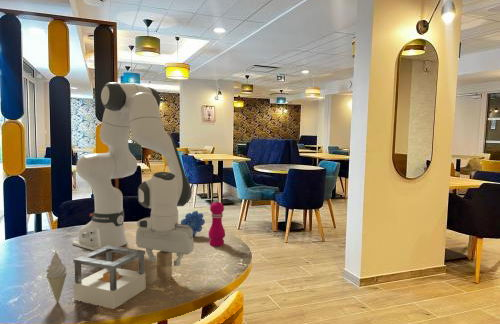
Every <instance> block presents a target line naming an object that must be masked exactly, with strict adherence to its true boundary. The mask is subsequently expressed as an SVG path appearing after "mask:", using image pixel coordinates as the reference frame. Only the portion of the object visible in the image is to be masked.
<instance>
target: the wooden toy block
mask: <svg viewBox="0 0 500 324" xmlns="http://www.w3.org/2000/svg"><path fill="white" fill-rule="evenodd" d="M172 278H173V253H172V252H166V251H159V250H158V252H156V280H158V281H163V282H167V281H169V280H171V279H172Z"/></svg>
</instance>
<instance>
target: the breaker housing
mask: <svg viewBox="0 0 500 324" xmlns="http://www.w3.org/2000/svg"><path fill="white" fill-rule="evenodd" d="M116 271H117V272H119V279H118V280H117V289H116V290H115V291H111V290H110V282H105V281H103V274H104V273H106V272H110V269H105V268H102V269H101V270H99V271H97V272H95V273H92V274H90V275H88V276H86V277H84V278H82V282H81V283H79V284H77V283H75V282H74V283H73V298H74V299H75V300H74V299H73V300H74V301H76V300H78V302H80V301H82V302H81V303H84V304H89V303H90V305H95V306H98V305H99V307H102V306H103V308H106V309H111V310H116V309H117V308H118V307H119V306H121V305H123V304H125V303H126V302H127V301H129V300H130V299H132V298H134V297H135V296H136V295H138V294H140V293H141V292H143V291H145V290H146V272H144V274H139V271H135V270H130V269H125V268H124V269H123V268H120V267H118V268H116Z"/></svg>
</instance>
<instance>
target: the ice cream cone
mask: <svg viewBox="0 0 500 324" xmlns="http://www.w3.org/2000/svg"><path fill="white" fill-rule="evenodd" d="M45 272H46V278H47V280H48V283H49V286H50V288H51V291H52V294H53V297H54V300H55V302H59V303H60V300H61V297H62V296H61V295H62V292H63V289H64V284H65V281H66V278H67V274H68V273H67V267H66V265H65V264H64V263H63V262H62V259H61V258H60V256H59V255H58V252H57V250H55V252H54V254H53V257H52V259H51V261H50V264H49V265H48V266H47V269H46V271H45Z"/></svg>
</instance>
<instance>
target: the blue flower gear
mask: <svg viewBox="0 0 500 324" xmlns="http://www.w3.org/2000/svg"><path fill="white" fill-rule="evenodd" d="M184 217H185V218H183V219H181V221H180V224H182V225H189V227H191V228H192V230H193V237H195V236H196V235H197V233H200V232H201V231H203V227H202V226H204V225H205V224H206V223H205V219H204V214H203V213H202V212H200V213H199V212H198V210H193V211H192V213H191V212H188V213H186V214H185V216H184Z"/></svg>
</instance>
